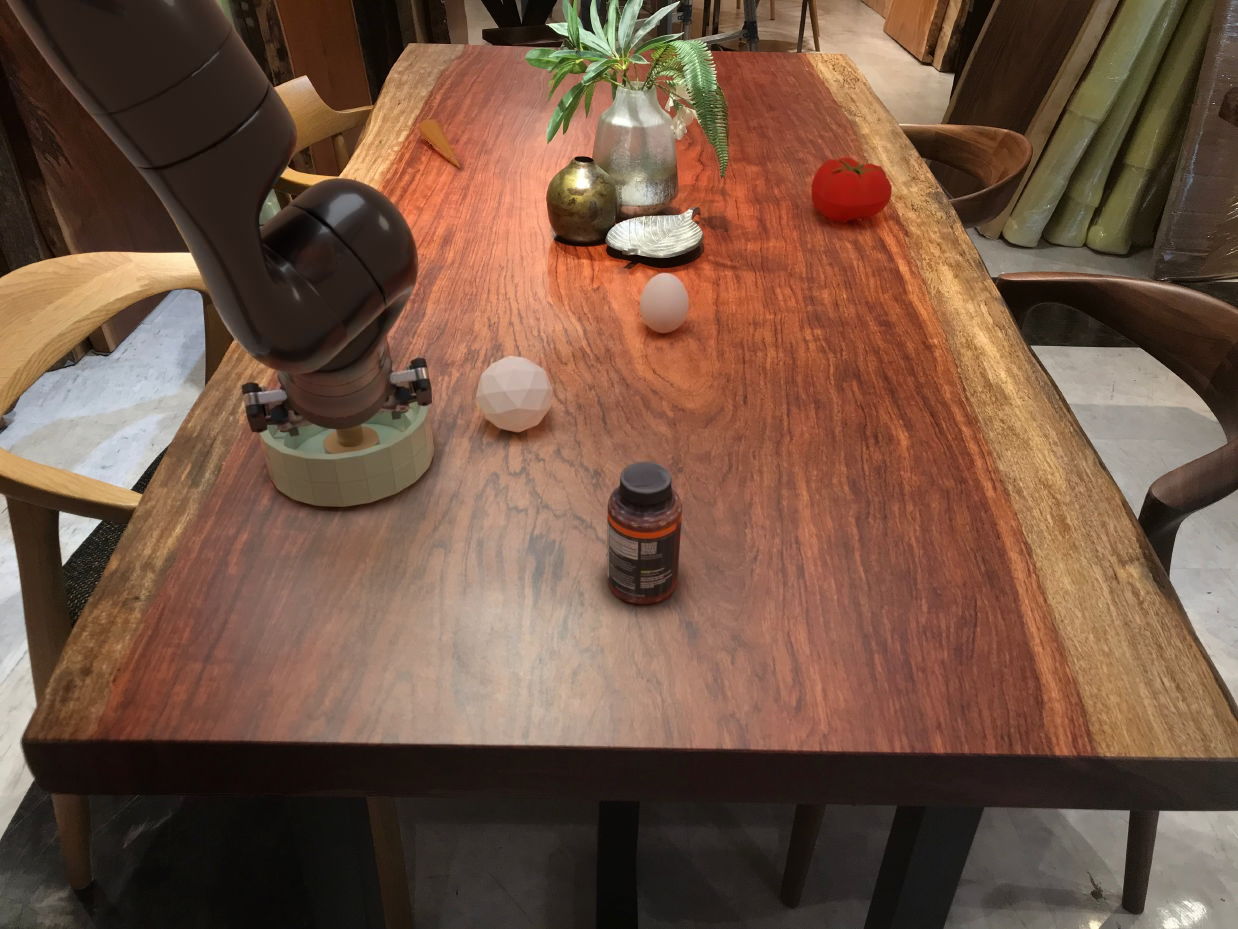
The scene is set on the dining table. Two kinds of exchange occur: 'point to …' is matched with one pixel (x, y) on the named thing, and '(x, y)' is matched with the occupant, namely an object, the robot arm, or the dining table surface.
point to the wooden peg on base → (350, 440)
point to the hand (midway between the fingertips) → (344, 416)
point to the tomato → (850, 190)
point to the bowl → (350, 461)
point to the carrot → (437, 138)
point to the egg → (664, 303)
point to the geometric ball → (514, 393)
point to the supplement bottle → (643, 534)
